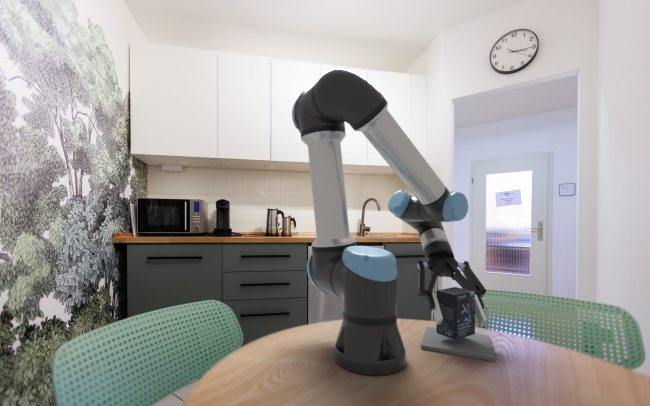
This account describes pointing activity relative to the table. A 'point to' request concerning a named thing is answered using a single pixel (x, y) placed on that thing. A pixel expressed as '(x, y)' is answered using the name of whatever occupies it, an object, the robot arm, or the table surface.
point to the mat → (459, 345)
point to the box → (456, 312)
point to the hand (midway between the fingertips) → (461, 321)
